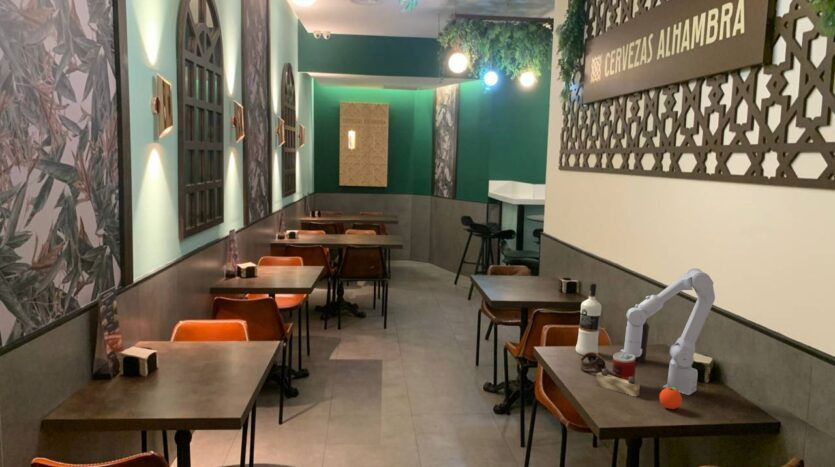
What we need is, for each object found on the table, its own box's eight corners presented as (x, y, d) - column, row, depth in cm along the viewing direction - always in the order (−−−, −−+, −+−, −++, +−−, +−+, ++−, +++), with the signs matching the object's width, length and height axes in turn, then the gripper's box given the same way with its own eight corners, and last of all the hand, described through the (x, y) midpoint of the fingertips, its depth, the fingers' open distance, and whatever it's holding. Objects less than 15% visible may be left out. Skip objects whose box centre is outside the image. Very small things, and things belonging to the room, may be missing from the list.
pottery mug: (610, 377, 237) (604, 359, 234) (586, 385, 239) (579, 368, 236) (603, 359, 248) (597, 343, 246) (581, 367, 250) (574, 350, 247)
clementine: (667, 402, 213) (669, 382, 213) (686, 409, 208) (688, 388, 207) (654, 406, 208) (656, 386, 208) (673, 414, 203) (676, 393, 202)
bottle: (635, 356, 263) (640, 310, 261) (648, 361, 257) (654, 314, 255) (624, 358, 260) (629, 311, 257) (637, 363, 254) (643, 315, 252)
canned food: (637, 381, 228) (638, 353, 225) (631, 391, 222) (632, 362, 219) (616, 377, 232) (616, 349, 229) (609, 386, 226) (610, 358, 223)
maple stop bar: (638, 395, 218) (640, 378, 218) (635, 397, 216) (637, 380, 215) (598, 382, 228) (600, 366, 228) (595, 384, 226) (596, 368, 225)
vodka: (602, 355, 261) (609, 285, 258) (584, 357, 258) (591, 286, 254) (588, 349, 270) (595, 281, 266) (570, 350, 266) (577, 281, 262)
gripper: (630, 334, 236) (626, 369, 238) (614, 341, 225) (610, 377, 227) (649, 339, 231) (645, 374, 233) (633, 346, 221) (629, 383, 222)
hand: (629, 376), depth 230 cm, fingers closed, pressing on canned food
